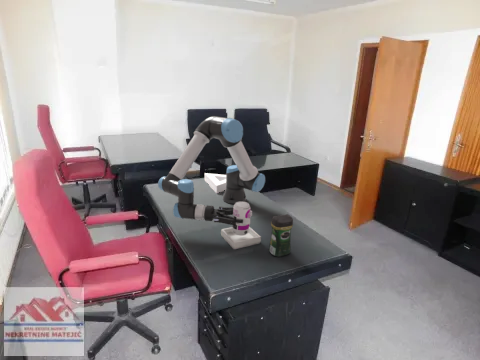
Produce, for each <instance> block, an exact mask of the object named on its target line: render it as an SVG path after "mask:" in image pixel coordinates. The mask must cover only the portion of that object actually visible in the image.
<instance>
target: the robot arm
mask: <svg viewBox="0 0 480 360" xmlns="http://www.w3.org/2000/svg"><path fill="white" fill-rule="evenodd" d="M243 137H244V127H243V124H242V123H241V122H240V121H239V120H237V119H234V118H231V117H224V116H223V117H222V116H217V115H212V116H209V117H207V118H205V119H204V120H203V121H201V123H200V124H199V125H198V126H197V127H196V128H195V130H194V132H193V137H192V138H191V139H190V141H189V142H188V144H187V145H186V147H185V149H184V150H183V151H182V153H181V154H180V156H179V157H178V159H177V161H176V162H175V164H174V165H173V166H172V168H171V170H170V171H169V172H168V174H167V176H161V177H160V178H159V180H158V182H157V186H158V188H159V190H161V191H162V192H164V193H167V194H170V195H172V196H173V197H174V196H175V197H176V198H177V201H178V202H175V203H174V205H173V208H172V209H173V210H172V214H173V216H174V217H175V218H179V219H183V220H184V219H186V220H196V221H197V220H198V221H206V222H213V223H220V224H225V225H231V226H233V225H236V223H242V224H249V225H251V217H253V210H250V218H241V217H237V219H236V218H234V217H233V207H234V206H233V207H232V206H219V207H218V208H215V207H214V205H208V204H207V205H205V204H198V203H197V204H196V203H195V202H194V201H195V200H194V199H195V196H194V195H195V187H194V185H195V184H194V181H193V180H191V179H187V178H185V176H186V175H187V173H188V171H189V170H190V169H191V167H192V166H193V164H194V162H195V161H196V159H197V158H198V156H199V155H200V153H201V152H202V150H203V149H204V147H205V146H206V144H209V143H210V141H211V140H212V139H217V140H219V141H220V143H221V145H222V146H223V147H224V148H227V151H228V152H229V154H230V156H231V158H232V160H233V162H234V163H235V164H232V165H229V166H227V167H226V173H225V175H226V190H225V191H223V192H224V193H223V196H222V200H223V202H225V203H228V204H233V205H235V203H236V202H240V201H243V202H247V195H246V192H245V190H248V191H251V192H254V193H258V192H261V190H262V189H263V188H264V186H265V183H266V176H265V174H264V173H260V172H259V169H258V168H257V167H256V166H255V165H254V164H253V163H252V160H251V159H250V157H249V154H248V152H247V150H246V148H245V146H244V144H243V141H242V140H243V139H242V138H243ZM184 178H185V179H184Z"/></svg>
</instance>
